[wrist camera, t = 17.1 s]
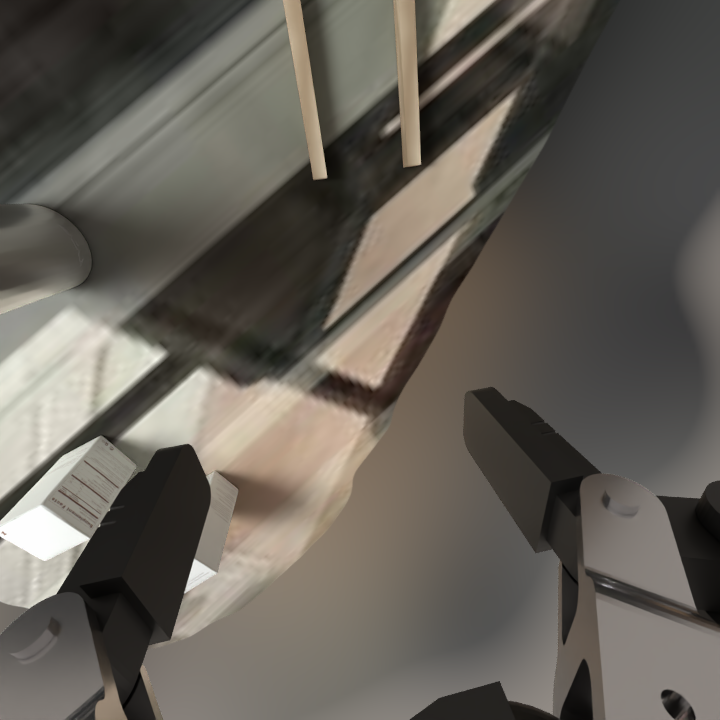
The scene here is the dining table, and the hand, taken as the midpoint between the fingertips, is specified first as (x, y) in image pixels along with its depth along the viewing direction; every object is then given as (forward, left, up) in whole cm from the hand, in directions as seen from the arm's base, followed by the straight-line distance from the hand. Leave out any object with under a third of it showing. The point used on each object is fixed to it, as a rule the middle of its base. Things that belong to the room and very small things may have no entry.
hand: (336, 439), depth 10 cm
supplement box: (-38, -25, -36) cm, 58 cm away
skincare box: (-25, -35, -36) cm, 56 cm away
